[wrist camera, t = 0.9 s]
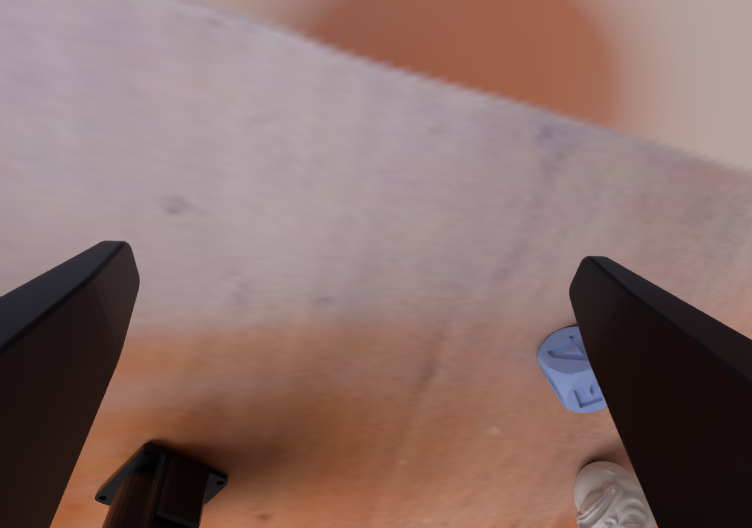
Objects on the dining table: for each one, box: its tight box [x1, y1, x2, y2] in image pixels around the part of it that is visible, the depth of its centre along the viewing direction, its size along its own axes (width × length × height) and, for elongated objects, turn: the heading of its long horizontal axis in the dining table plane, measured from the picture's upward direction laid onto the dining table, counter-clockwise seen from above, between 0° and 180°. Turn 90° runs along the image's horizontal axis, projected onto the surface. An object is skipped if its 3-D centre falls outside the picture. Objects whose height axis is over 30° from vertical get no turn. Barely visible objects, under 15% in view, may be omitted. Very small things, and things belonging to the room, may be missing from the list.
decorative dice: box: [536, 326, 607, 413], centre depth 30 cm, size 4×4×4 cm
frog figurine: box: [574, 461, 656, 528], centre depth 36 cm, size 6×7×7 cm
